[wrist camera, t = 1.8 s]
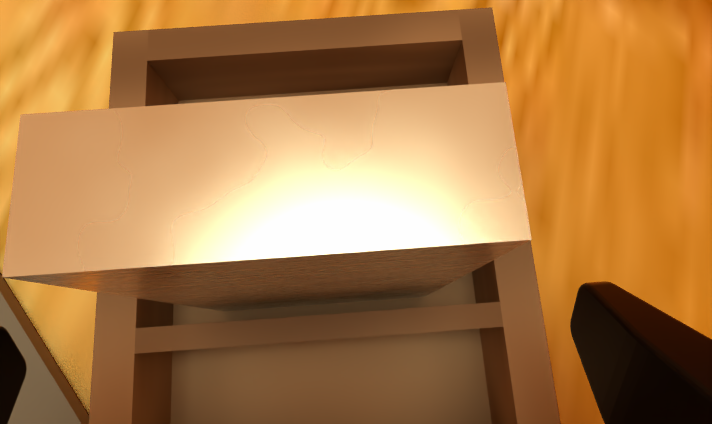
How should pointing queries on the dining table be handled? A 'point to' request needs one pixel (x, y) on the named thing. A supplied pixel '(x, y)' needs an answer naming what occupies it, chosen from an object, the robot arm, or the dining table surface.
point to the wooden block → (269, 197)
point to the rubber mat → (37, 373)
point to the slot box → (324, 321)
